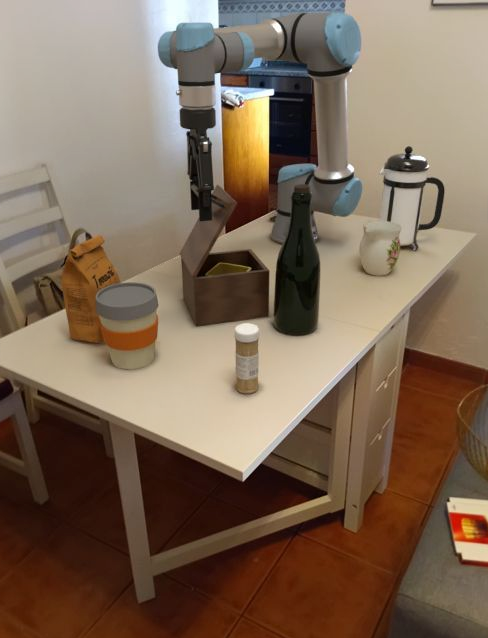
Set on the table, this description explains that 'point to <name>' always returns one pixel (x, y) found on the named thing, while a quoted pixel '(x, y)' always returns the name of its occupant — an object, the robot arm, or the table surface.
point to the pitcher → (380, 247)
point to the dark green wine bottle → (298, 270)
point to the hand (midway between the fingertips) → (201, 214)
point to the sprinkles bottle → (247, 357)
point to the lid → (207, 230)
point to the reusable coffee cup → (129, 323)
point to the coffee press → (407, 195)
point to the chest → (227, 289)
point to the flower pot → (227, 269)
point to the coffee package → (86, 287)
